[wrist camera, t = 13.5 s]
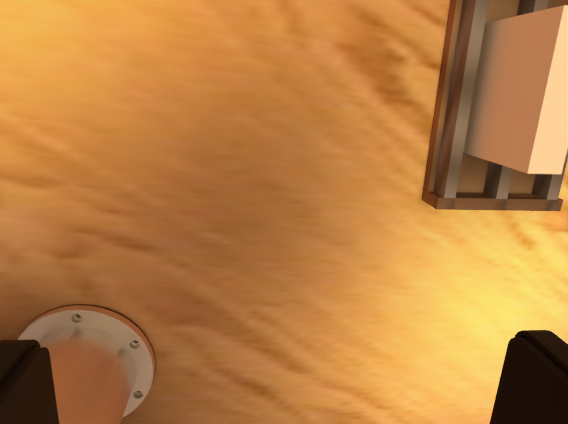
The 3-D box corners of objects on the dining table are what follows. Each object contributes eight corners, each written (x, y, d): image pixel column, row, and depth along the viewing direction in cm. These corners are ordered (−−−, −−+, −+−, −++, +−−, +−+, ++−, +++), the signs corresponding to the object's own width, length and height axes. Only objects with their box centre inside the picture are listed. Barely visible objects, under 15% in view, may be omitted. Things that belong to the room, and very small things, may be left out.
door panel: (485, 152, 36) (561, 174, 28) (459, 151, 36) (527, 173, 28) (509, 26, 33) (601, 7, 25) (480, 24, 33) (564, 4, 25)
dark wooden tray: (536, 201, 39) (560, 211, 37) (421, 199, 38) (436, 209, 35) (589, -28, 34) (621, -37, 31) (456, -38, 33) (477, -50, 30)
